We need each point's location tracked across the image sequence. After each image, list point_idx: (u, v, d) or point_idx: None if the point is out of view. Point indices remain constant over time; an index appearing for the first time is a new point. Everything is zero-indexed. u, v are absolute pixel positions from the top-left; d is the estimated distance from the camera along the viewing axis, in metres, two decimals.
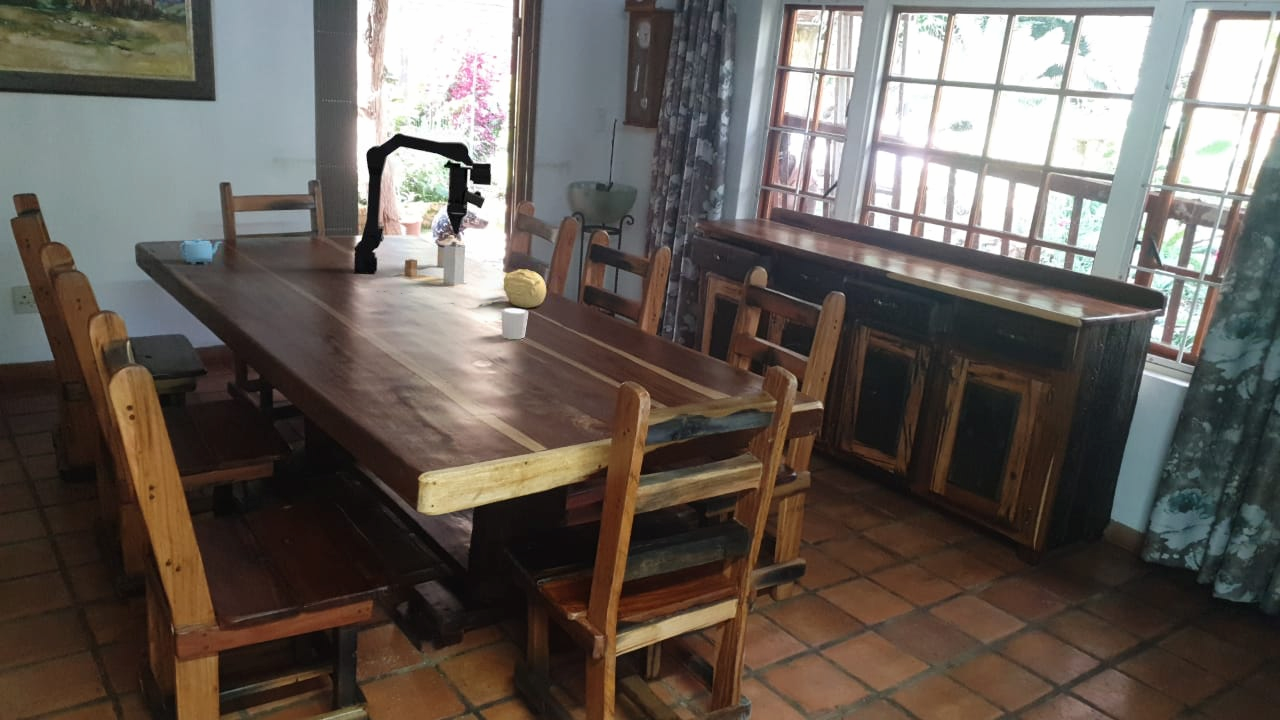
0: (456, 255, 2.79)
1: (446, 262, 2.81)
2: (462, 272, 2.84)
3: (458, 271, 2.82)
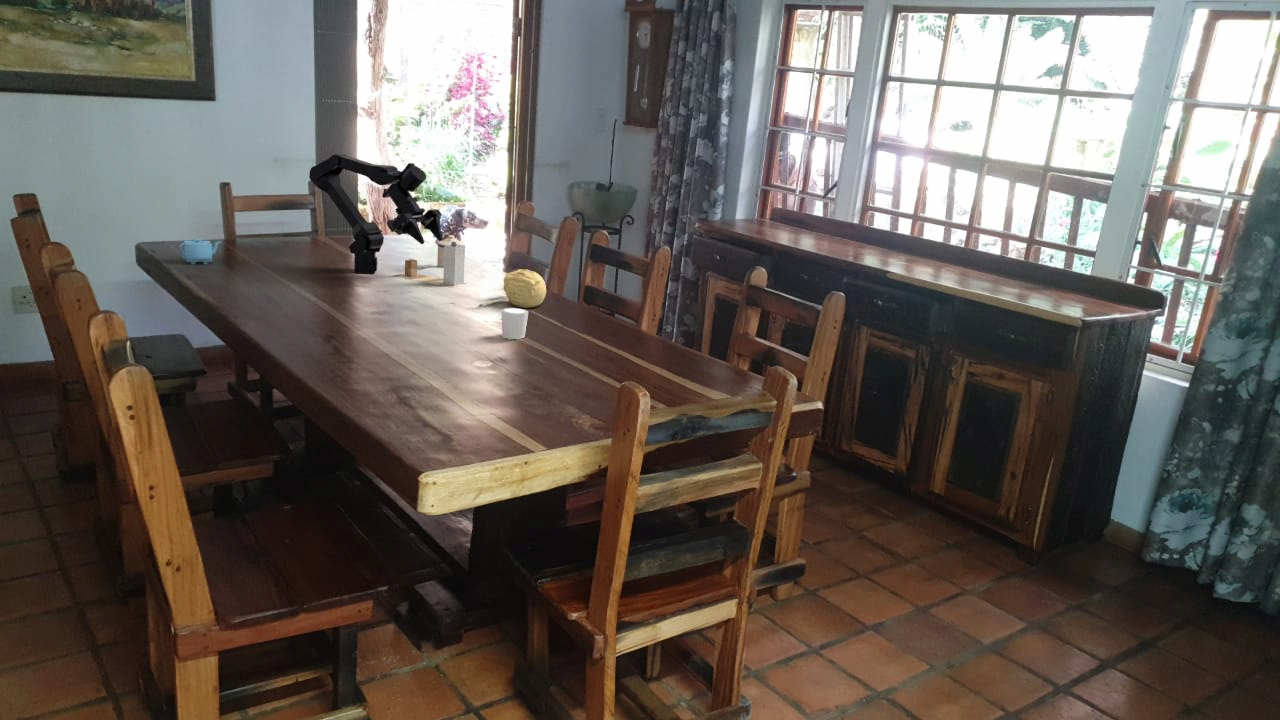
0: (456, 255, 2.79)
1: (446, 262, 2.81)
2: (462, 272, 2.84)
3: (458, 271, 2.82)
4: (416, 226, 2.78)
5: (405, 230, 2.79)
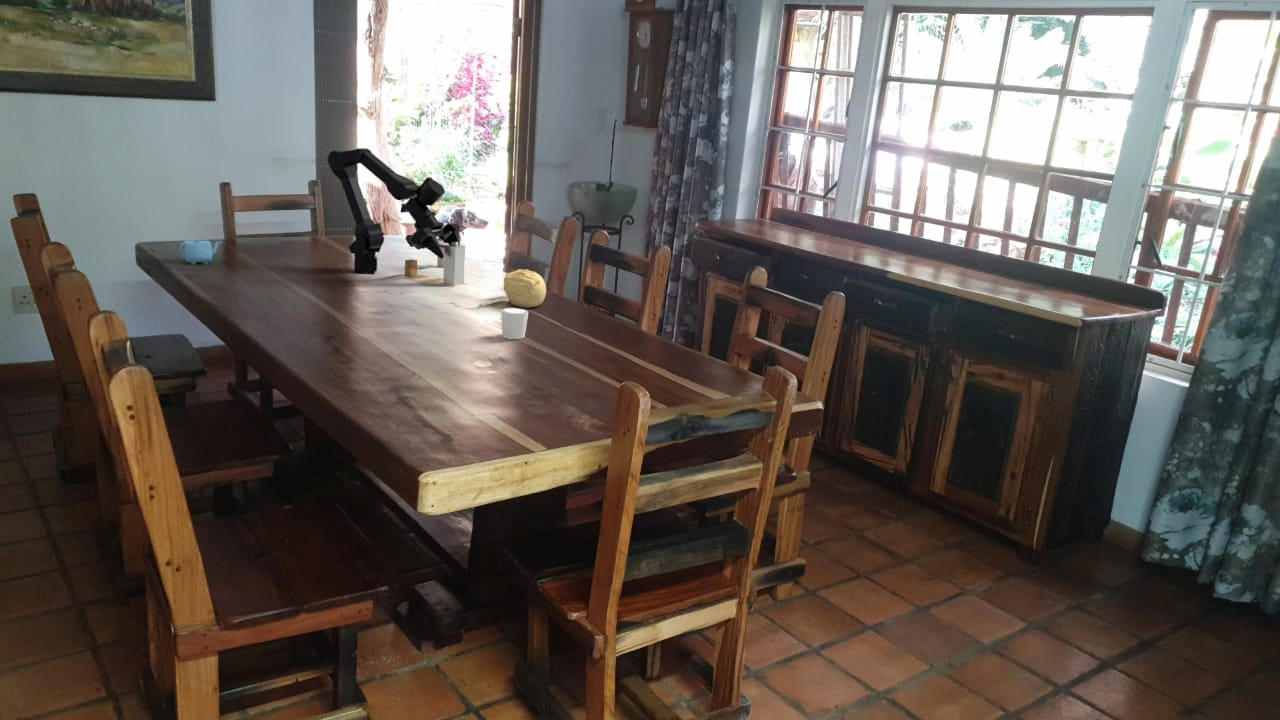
0: (456, 255, 2.79)
1: (446, 262, 2.81)
2: (462, 272, 2.84)
3: (458, 271, 2.82)
4: (435, 241, 2.77)
5: (424, 245, 2.78)
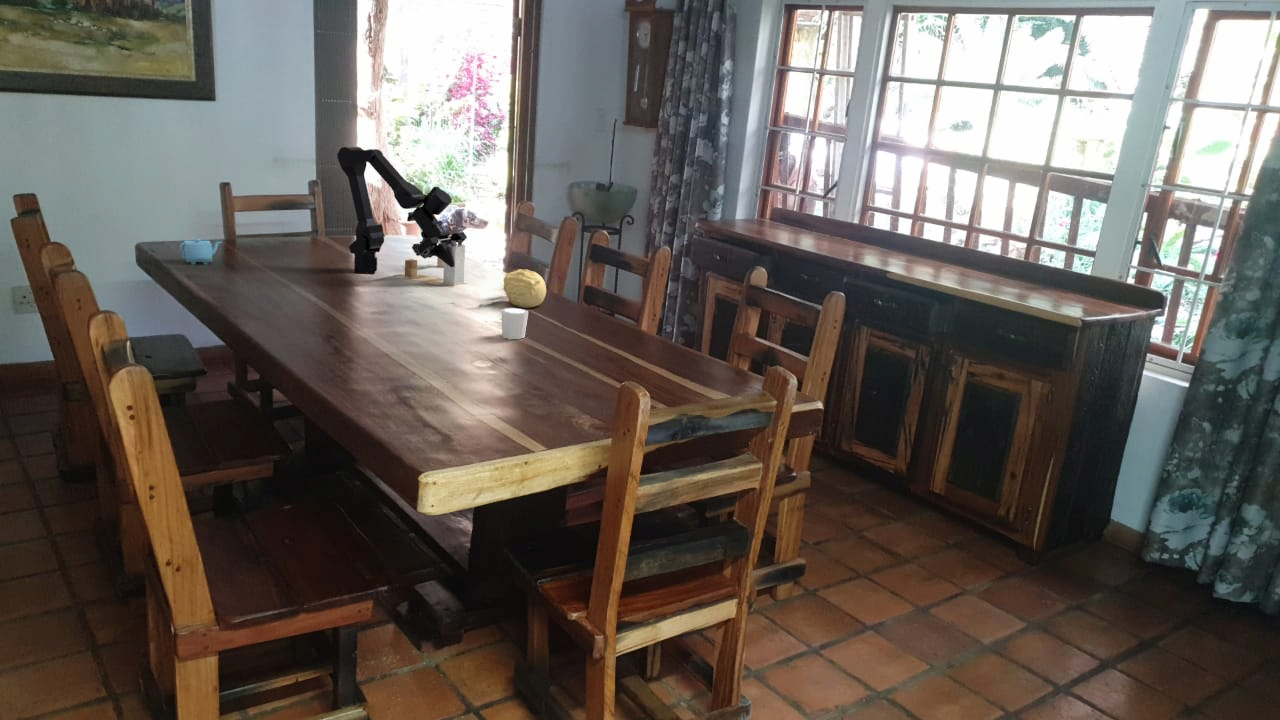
0: (456, 255, 2.79)
1: None
2: (462, 272, 2.84)
3: (458, 271, 2.82)
4: (446, 249, 2.78)
5: (435, 253, 2.79)
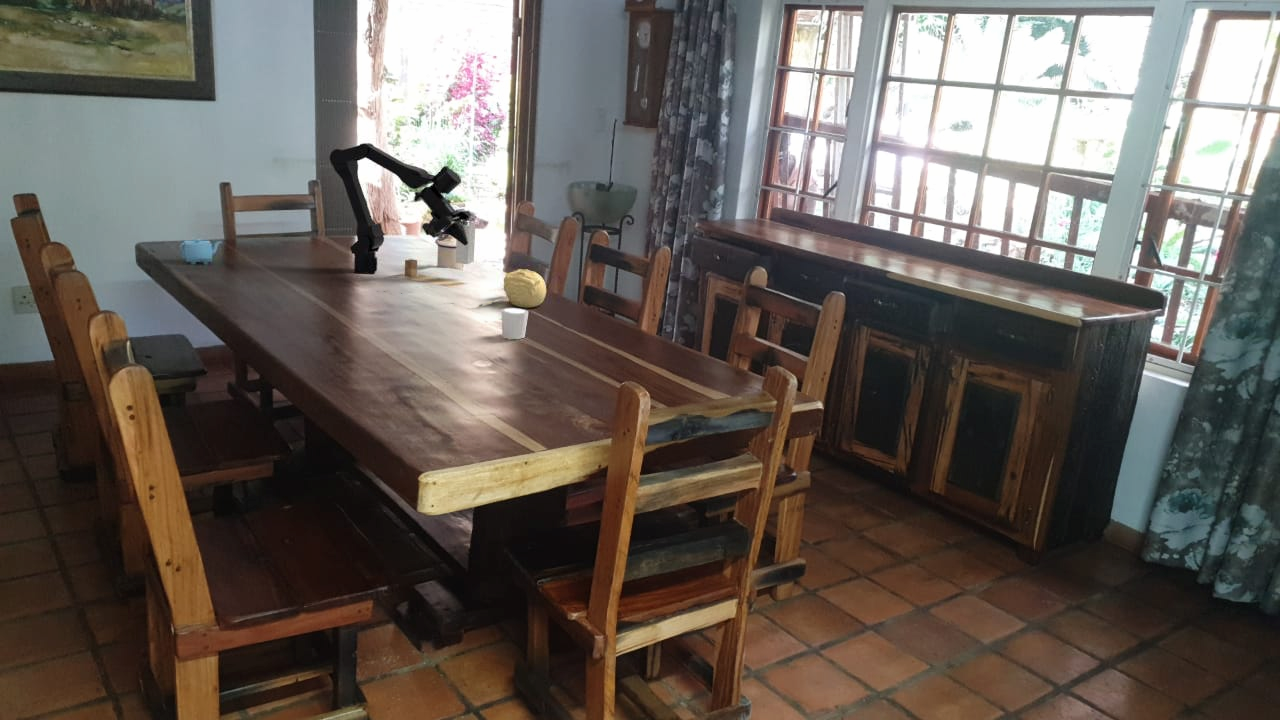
0: (469, 233, 2.85)
1: None
2: (473, 250, 2.90)
3: (470, 249, 2.88)
4: (460, 228, 2.83)
5: (448, 232, 2.83)
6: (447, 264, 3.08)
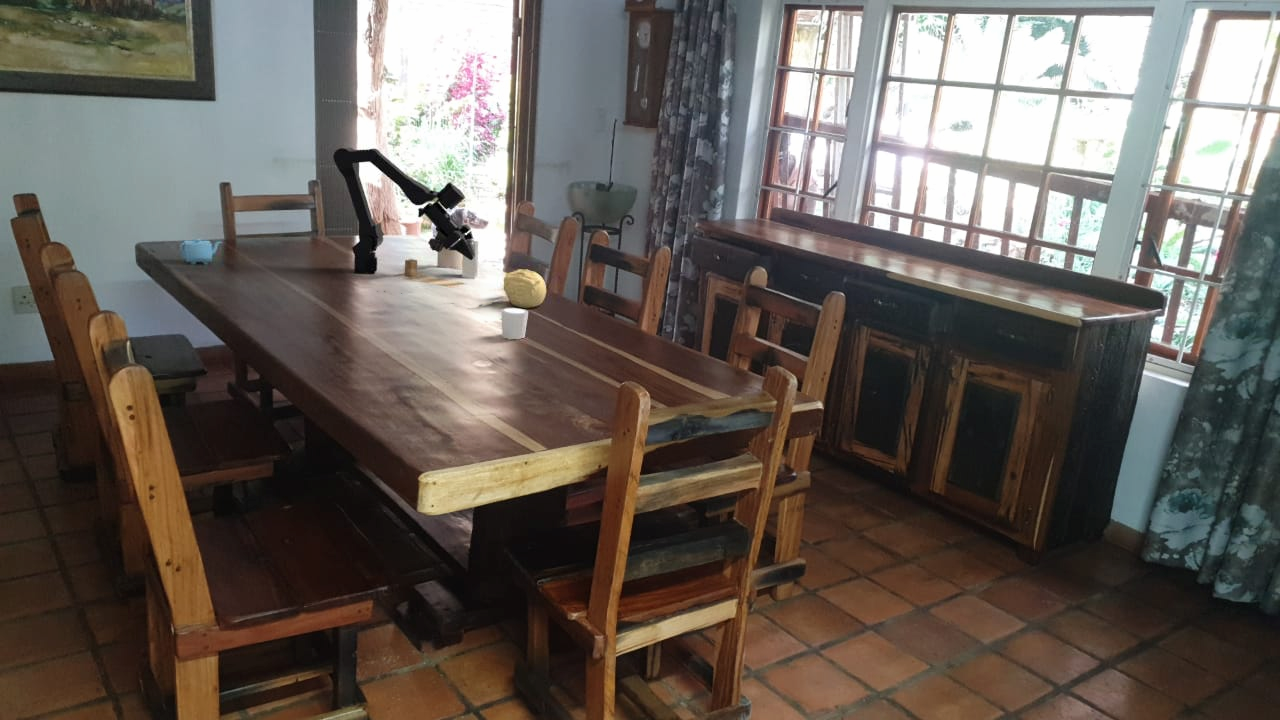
0: (475, 251, 2.93)
1: (465, 258, 2.94)
2: None
3: (476, 266, 2.96)
4: (466, 243, 2.89)
5: (455, 248, 2.89)
6: (447, 264, 3.08)
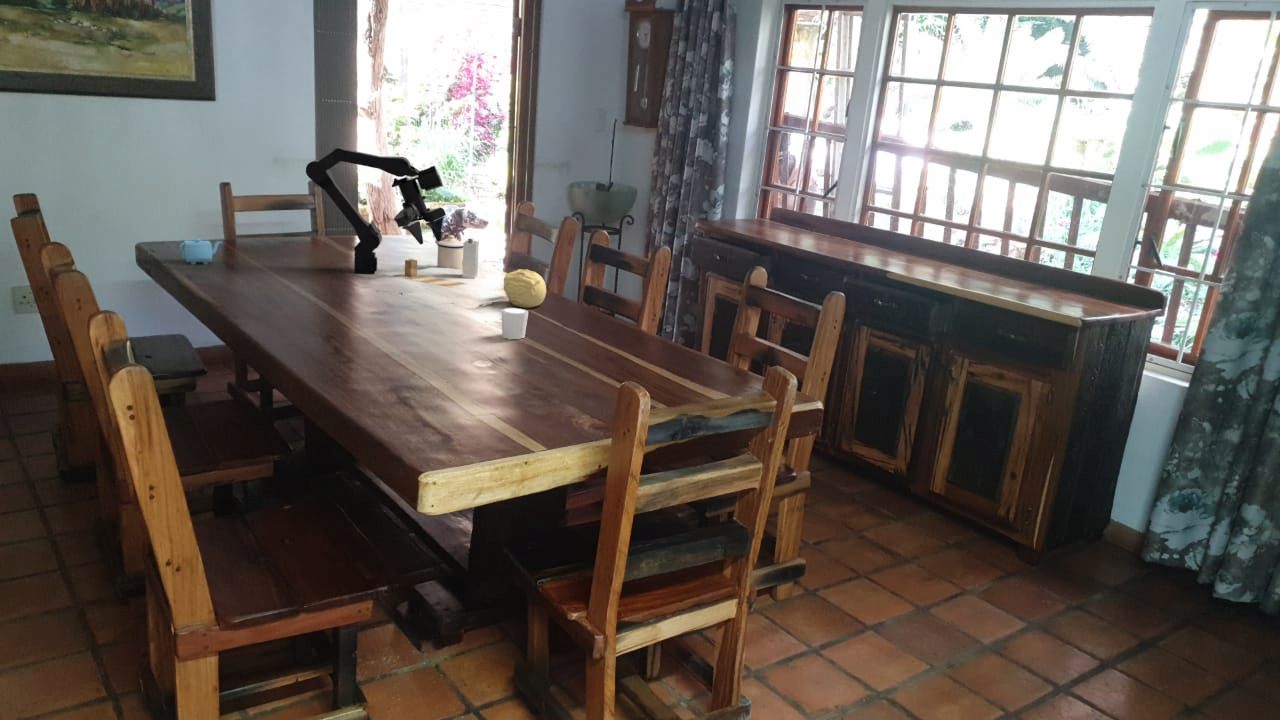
0: (476, 251, 2.93)
1: (465, 258, 2.94)
2: (477, 267, 2.99)
3: (476, 266, 2.96)
4: None
5: (433, 224, 2.91)
6: (447, 264, 3.08)
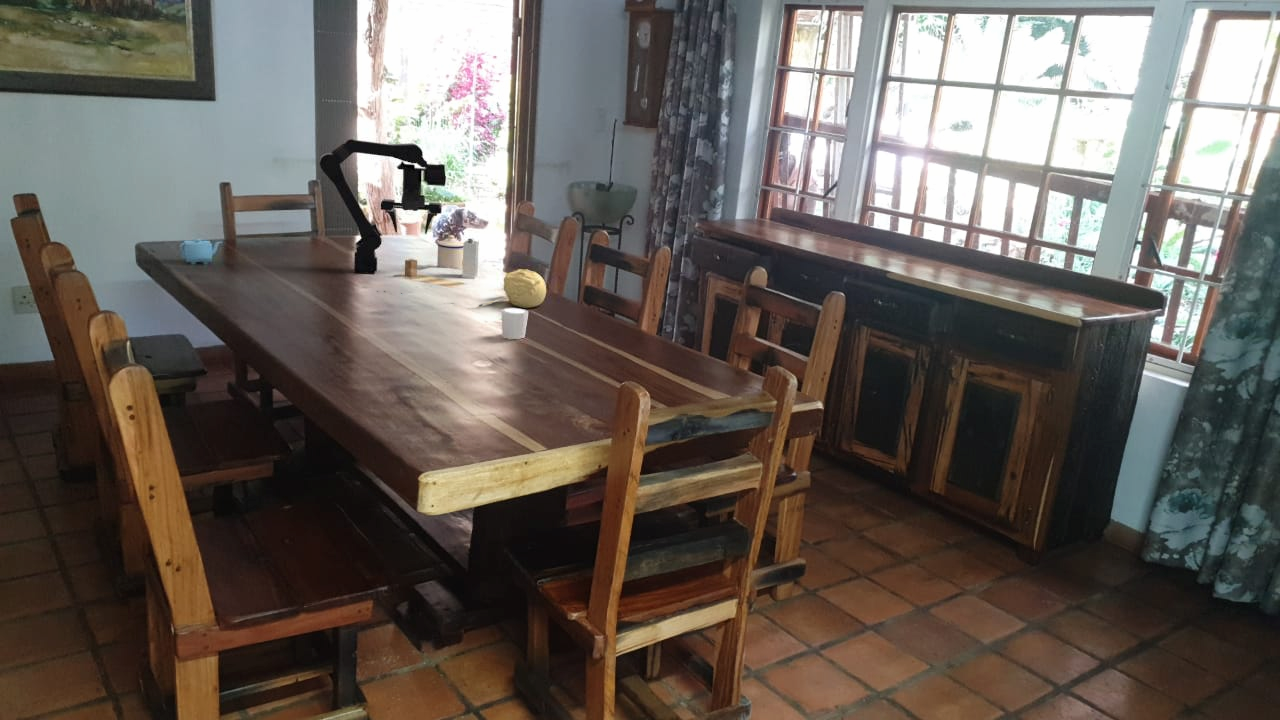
0: (476, 251, 2.93)
1: (465, 258, 2.94)
2: (477, 267, 2.99)
3: (476, 266, 2.96)
4: None
5: None
6: (447, 264, 3.08)
